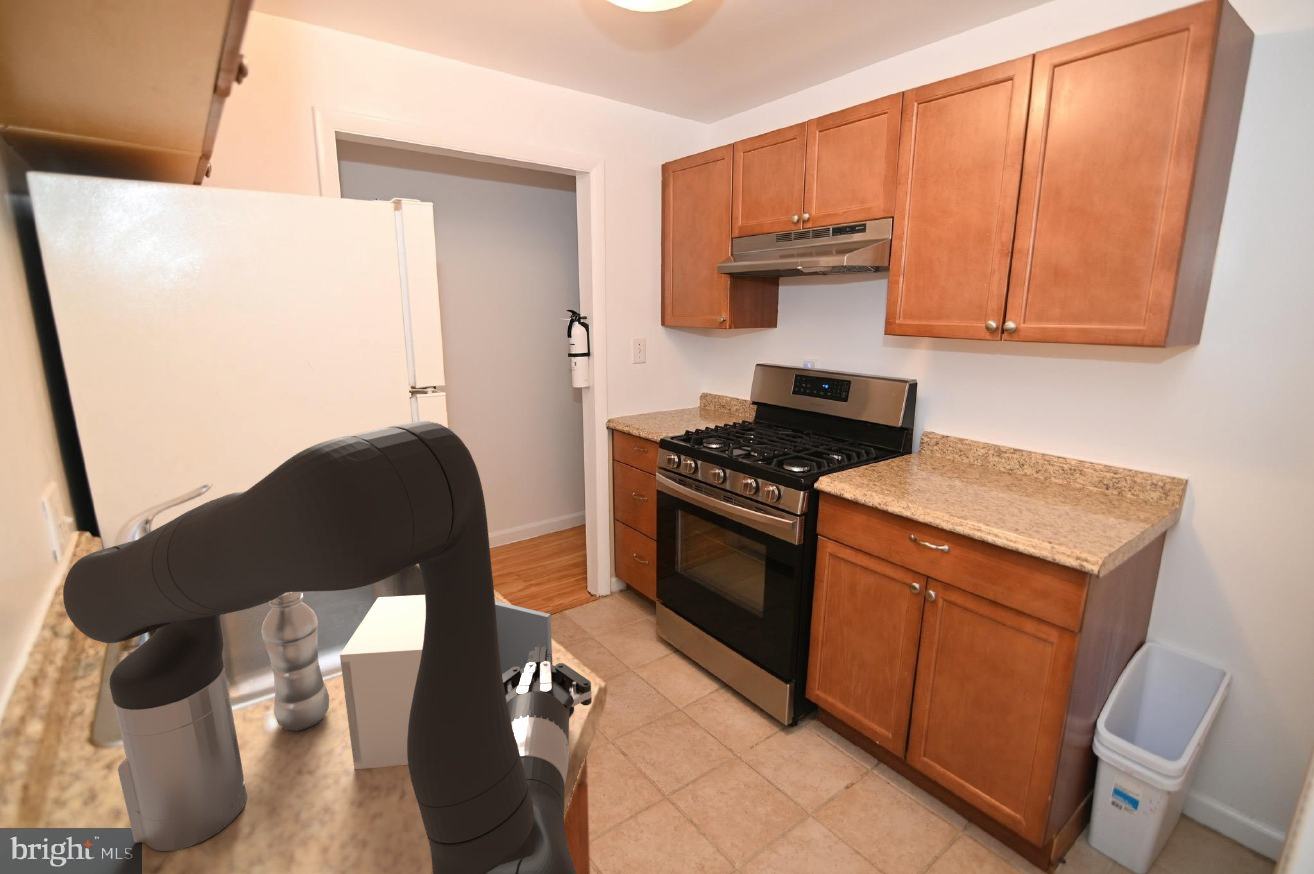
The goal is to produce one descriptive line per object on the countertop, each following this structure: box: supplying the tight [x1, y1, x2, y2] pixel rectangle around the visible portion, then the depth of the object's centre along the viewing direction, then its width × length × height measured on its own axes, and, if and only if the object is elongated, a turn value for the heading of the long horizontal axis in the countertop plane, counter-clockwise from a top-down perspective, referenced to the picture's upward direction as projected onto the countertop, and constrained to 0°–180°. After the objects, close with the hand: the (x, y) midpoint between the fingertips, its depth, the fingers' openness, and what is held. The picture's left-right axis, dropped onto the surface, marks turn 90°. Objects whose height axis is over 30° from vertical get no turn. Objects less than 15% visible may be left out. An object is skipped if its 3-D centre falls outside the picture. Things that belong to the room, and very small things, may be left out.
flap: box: [495, 600, 553, 686], centre depth 84 cm, size 1×14×15 cm, turn 68°
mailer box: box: [339, 594, 426, 770], centre depth 79 cm, size 12×14×16 cm
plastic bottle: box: [260, 592, 330, 732], centre depth 80 cm, size 6×7×20 cm
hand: (540, 652), depth 75 cm, fingers closed
